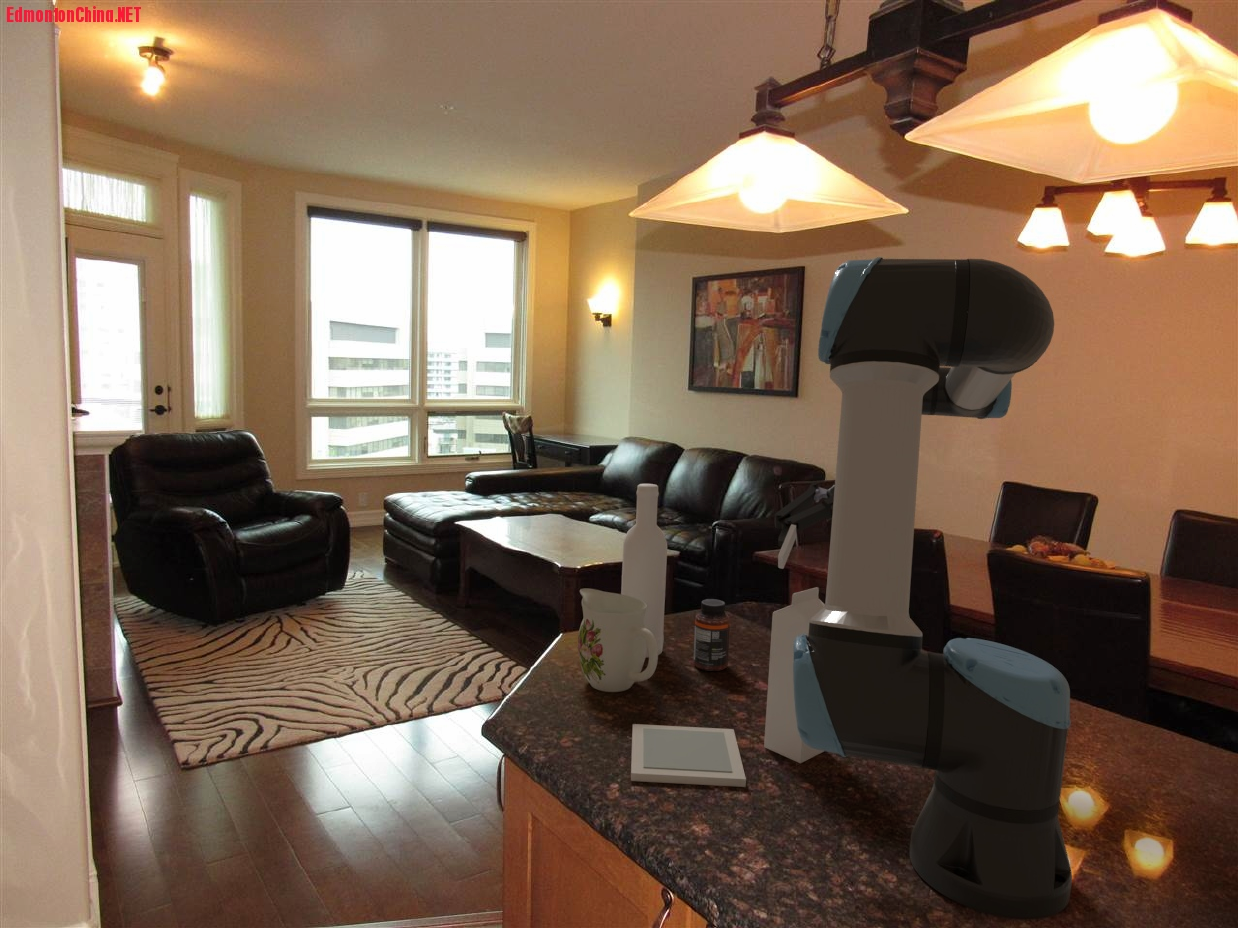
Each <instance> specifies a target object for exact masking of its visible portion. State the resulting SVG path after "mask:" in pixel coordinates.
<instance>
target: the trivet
mask: <svg viewBox="0 0 1238 928" xmlns="http://www.w3.org/2000/svg"><path fill="white" fill-rule="evenodd" d="M631 735H632V736H631V763H630V764H631V766H630V782H642V783H643V782H644V783H645V782H647V783H660V784H661V783H664V784H680V785H681V784H682V785H683V784H684V785H701V786H703V785H704V786H716V787H717V786H719V787H735V788H736V787H738V788H740V787H741V788H746V785H747V782H746V781H747V777H746V775H745V771H744V766H743V762H742V758H741V753H740V750H739V746H738V743H737V737H736V734H735V730H734V728H719V727H718V728H714V727H713V728H712V727H700V726H699V727H695V726H679V725H659V724H658V725H657V724H640V723H637V724H636V723H632V734H631Z"/></svg>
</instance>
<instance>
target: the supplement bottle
mask: <svg viewBox="0 0 1238 928" xmlns="http://www.w3.org/2000/svg"><path fill="white" fill-rule="evenodd" d="M694 621H695V622H694V639H693V642H694V643H693V665H694V667H696V668H698V669H700V670H701V671H706V672H707V671H708V672H719V671H723V670H725V669H726V668H727V667H728V665H729V652H730V651H729V649H730V629H731V618H730V616H729V615H728V614H727V613H726V603H725V601H723V600H720V599H716V598H715V599H714V598H706V599H703V600H702V601H701V607H700V611H699V612H698V613H697V614H696V615H695V618H694Z"/></svg>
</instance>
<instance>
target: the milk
mask: <svg viewBox="0 0 1238 928" xmlns="http://www.w3.org/2000/svg"><path fill="white" fill-rule="evenodd" d="M819 591H820V588H819V587H818V586H817V587H813V588H809V589H805V590H802V591H798V592H794V593H792V596H791V604H790V605H788V606H785V607H783V608H781V609H777V610H774V611H773V612H772V619H771V636H770V648H769V649H770V650H769V651H770V652H769V662H768V663H769V666H768V681H767V696H766V711H765V713H766V714H765V725H764V728H765V729H764V740H763V741H764V744H763V748H765V749H767V750H769V751H771V752H774V753H776V754H779V756H783V757H786V758H787V759H789V760H791V761H794V762H796V763H799V764H803V763H804V762H807V761H808V760H810V759H813V758H814V757H816V756H819V755H820V754H822V753H824V752H825V751H822V750H818V749H814V748H811V747H809V746H807V745H806V744H805V743H804V742H803V741H802V739H801V738H800V736H799V733H798V729H797V722H796V713H795V701H794V681H793V662H794V652H793V646H794V640H795V638H796V637H797V636H800V635H802V634H806V635H807V636H808V634H809V622H810V619H811V618H812V617H813V616H814V615H816V614H817V613H818V612H819V611H820V610H822V609H823V607H824V606H825V603H824V602H823V601H822V600H821V599H820V598H819Z"/></svg>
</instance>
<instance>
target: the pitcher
mask: <svg viewBox="0 0 1238 928" xmlns="http://www.w3.org/2000/svg"><path fill="white" fill-rule="evenodd" d="M579 593H580V595H581V597H582V599H581V607H582V614H583V619H582V621H581V623H580V627H579V630H578V638H577V651H578V658H579V663H580V667H581V670H582V673H583V675H584V677H585V679H586V680H587V682H589V685H590V686H591V687H592V688H593V689H596V690H598V691H600V692H606V693H618V692H620V693H621V692H625V691H627V690H629V689H630V688H631V687H632V686H633V685H634V683H636V682H644V681H647V680H648V679H650V678H651V677H652V676H653V675H654V674H655V671H656V669H657V665H658V660H659V655H658V648H657V642H656V639H655V637H654V635H653V634H652V632H651V631H649V630H648V629H646V628H645V624H644V616H645V612H646V608H647V604H646V603H645V602H644V601H642V600H640V599H637V598H634V597H631V596H627V595H623V594H621V593H616V592H608V591H603V590H600V589H596V588H588V587H587V588H580V590H579ZM647 644H648V648H649V658H648V662H647V666H646V668H644V670H643V667H644V663H645V660H646V658H645V657H646V652H647ZM642 670H643V671H642Z"/></svg>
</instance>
